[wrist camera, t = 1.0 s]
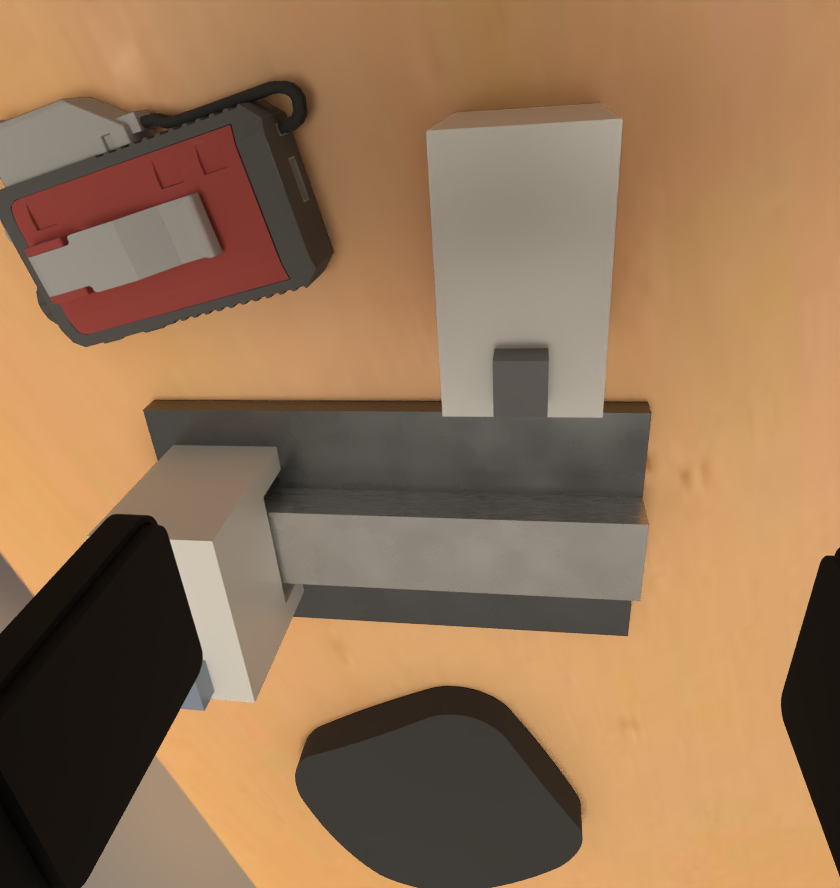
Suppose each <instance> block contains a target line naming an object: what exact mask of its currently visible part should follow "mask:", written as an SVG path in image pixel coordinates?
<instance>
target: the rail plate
mask: <svg viewBox="0 0 840 888" xmlns="http://www.w3.org/2000/svg"><path fill="white" fill-rule="evenodd" d="M143 411H144V415H145V418H146V422H147V425H148V429H149V432H150V435H151V439H152V442H153V446H154V449H155V453H156V456H157V459H158V461H159V460H160V458H161V457H162V456H163V455H164V454H165V453H166V452H167V451H168V450H169V449H170V448H171V447H172V446H173V445H201V446H266V447H277V452H278V458H279V463H280V468H281V470H280V472H279V473H278V475H277V476H276V478H275V480H274V481H273V483H272V484H271V486H270V488H269V489H268V491H267V492H266V494H265V495H264V497H263V498H264V503H265V507H266V512H267V517H268V522H269V526H270V531H271V536H272V540H273V545H274V550H275V555H276V559H277V564H278V569H279V573H280V578H281V583H289V584H303V587H304V593H303V595H302V597H301V599H300V602H299V604H298V606H297V608H296V611H295V613H294V615H293V617H308V618H325V619H343V620H360V621H377V622H394V623H411V624H429V625H446V626H463V627H480V628H497V629H514V630H532V631H549V632H566V633H583V634H600V635H617V636H628V629H629V620H630V610H631V601H640V598H641V589H642V581H643V572H644V563H645V554H646V545H647V536H648V528H649V523H648V519H647V515H646V511H645V506H644V502H643V498H642V496H643V487H644V478H645V468H646V459H647V449H648V440H649V430H650V421H651V411H650V408H649V404H648V402H604V405H603V418H579V417H445V416H442V401H195V400H154V401H152V402H151V403H150V404H149V405H148V406H147V407H146V408H145V409H143Z"/></svg>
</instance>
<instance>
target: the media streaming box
mask: <svg viewBox="0 0 840 888" xmlns="http://www.w3.org/2000/svg"><path fill="white" fill-rule="evenodd" d="M295 780H296V786H297V789H298V792H299V794H300V796H301V798H302V799H303V801H304V802H305V803H306V805H307V806H308V808H309V809H310V810H311V812H312V813H313V814H314V815H315V817H316V818H317V819H318V820H319V822H320V823H321V824H322V825H323V826H324V827H325V829H326V830H327V831H328V832H329V833H330V834H331V835H332V836H333V837H334V838H335V839H336V840H337V841H338V842H339V843H340V844H341V845H342V846H343V847H344V848H345V849H346V850H347V851H349V852H350V853H351V854H352V855H353V856H354V857H356V858H357V859H358V860H359V861H361V862H362V863H363V864H365V865H366V866H368V867H369V868H370V869H372V870H373V871H375V872H377V873H378V874H380V875H382V876H384V877H386V878H389V879H391V880H394V881H396V882H399V883H403V884H406V885H409V886H413V887H417V888H492V887H497V886H502V885H506V884H511V883H514V882H518V881H522V880H525V879H528V878H532V877H535V876H538V875H540V874H543V873H546V872H548V871H551V870H553V869H556V868H558V867H560V866H562V865H563V864H565V863H566V862H568V861H569V860H570V859H571V858H572V857H573V856H574V855H575V854H576V853H577V852H578V850H579V849H580V847H581V844H582V821H581V804H580V800H579V798H578V796H577V795H576V793H575V792H574V790H573V789H572V787H571V786H570V784H569V783H568V781H567V780H566V779H565V777H564V776H563V774H562V773H561V772H560V770H559V769H558V768H557V766H556V765H555V764H554V762H553V761H552V760H551V758H550V757H549V756H548V755H547V753H546V752H545V751H544V750H543V748H542V747H541V746H540V745H539V743H538V742H537V741H536V740H535V738H534V737H533V736H532V735H531V734H530V732H529V731H528V730H527V729H526V728H525V727H524V725H523V724H522V723H521V722H520V721H519V720H518V719H517V717H516V716H515V715H514V714H513V713H512V712H511V711H510V710H509V709H508V707H507V706H505V705H504V704H503V703H501V702H500V701H498V700H497V699H495V698H493V697H491V696H489V695H487V694H484V693H482V692H479V691H476V690H472V689H468V688H462V687H436V688H432V689H429V690H425V691H421V692H418V693H415V694H411V695H408V696H405V697H401V698H398V699H395V700H392V701H389V702H386V703H383V704H380V705H377V706H374V707H371V708H368V709H365V710H362V711H359V712H357V713H354V714H351V715H349V716H346V717H343V718H341V719H338V720H336V721H333V722H331V723H328V724H326V725H323V726H321V727H318V728H317V729H315V730H314V731H313V732H312V733H311V734H310V735H309V737H308V738H307V740H306V743H305V746H304V748H303V751H302V754H301V757H300V760H299V763H298V766H297V769H296V774H295Z"/></svg>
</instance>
